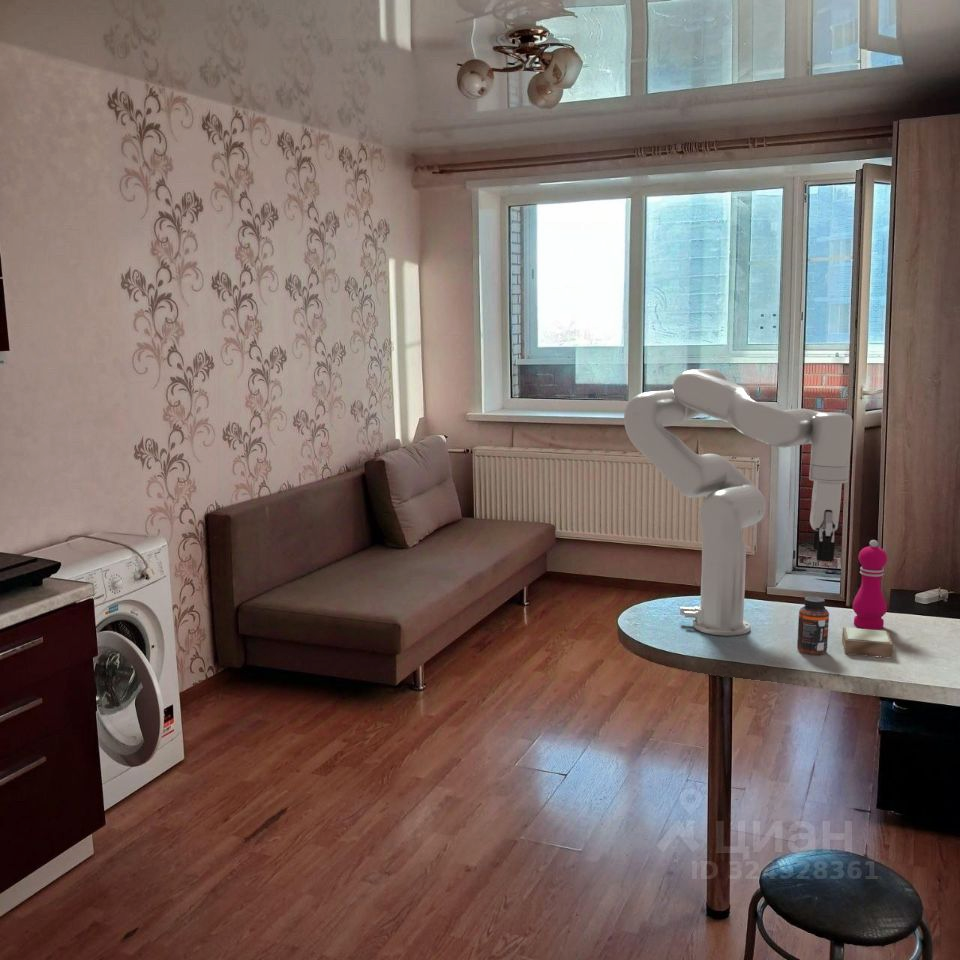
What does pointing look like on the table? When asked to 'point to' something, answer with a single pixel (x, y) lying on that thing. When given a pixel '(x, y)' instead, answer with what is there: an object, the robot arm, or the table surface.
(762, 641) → the table surface
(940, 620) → the table surface
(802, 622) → the supplement bottle
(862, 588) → the pepper mill
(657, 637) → the table surface
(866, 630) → the base
